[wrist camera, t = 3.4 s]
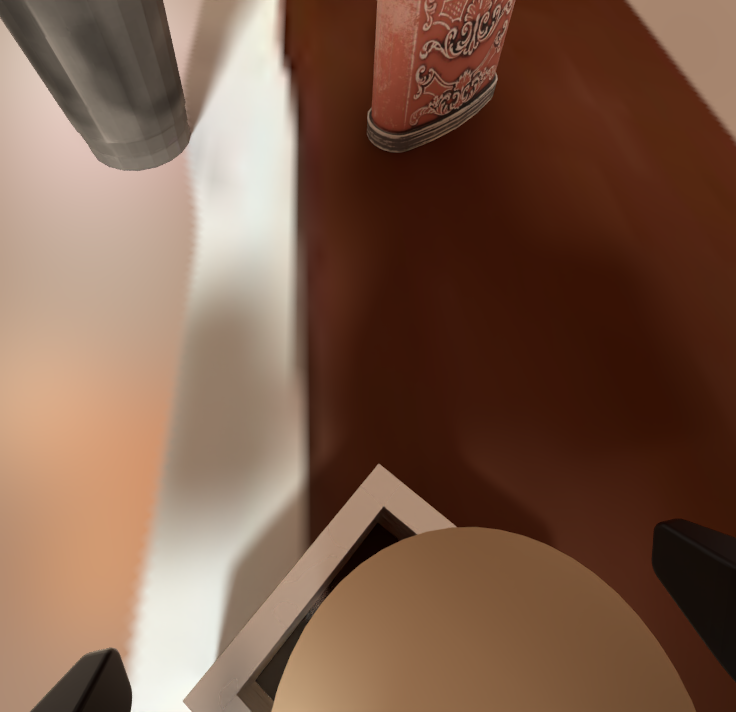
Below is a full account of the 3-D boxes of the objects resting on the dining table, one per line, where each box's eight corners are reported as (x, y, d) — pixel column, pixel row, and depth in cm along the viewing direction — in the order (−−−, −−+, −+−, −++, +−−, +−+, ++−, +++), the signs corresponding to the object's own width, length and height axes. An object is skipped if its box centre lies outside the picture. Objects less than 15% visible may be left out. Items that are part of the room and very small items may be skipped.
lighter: (460, 66, 26) (517, -209, 18) (507, 96, 25) (594, -181, 16) (351, 127, 24) (354, -164, 15) (399, 163, 22) (434, -127, 14)
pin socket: (419, 917, 11) (438, 995, 9) (211, 685, 13) (182, 701, 10) (563, 643, 13) (605, 648, 11) (373, 485, 15) (379, 463, 13)
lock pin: (407, 800, 12) (595, 1371, 3) (287, 676, 13) (158, 814, 4) (494, 651, 13) (788, 723, 4) (380, 551, 14) (438, 452, 6)
